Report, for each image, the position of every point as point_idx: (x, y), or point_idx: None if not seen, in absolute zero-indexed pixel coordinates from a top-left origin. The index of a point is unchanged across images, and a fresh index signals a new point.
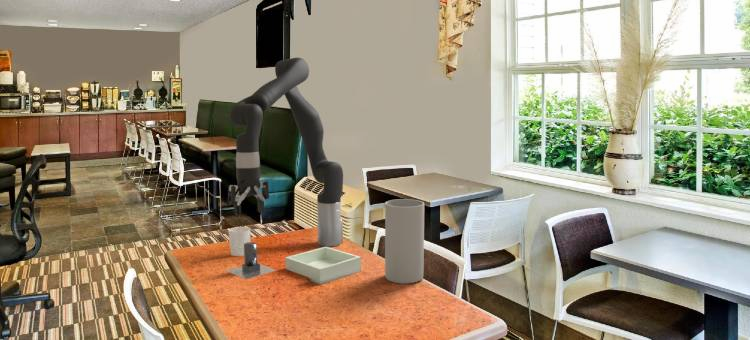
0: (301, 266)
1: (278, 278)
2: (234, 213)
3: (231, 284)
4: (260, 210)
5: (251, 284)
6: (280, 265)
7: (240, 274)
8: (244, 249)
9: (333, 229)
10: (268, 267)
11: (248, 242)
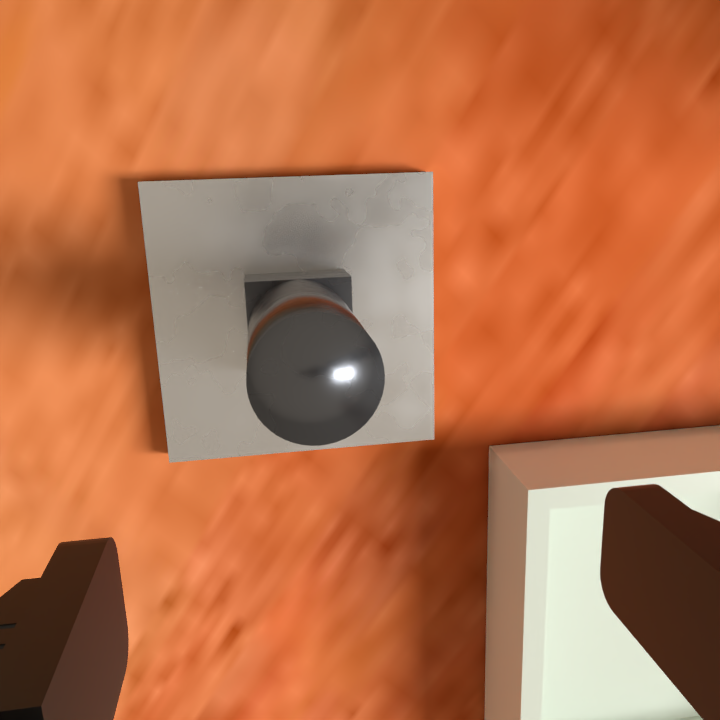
0: (513, 645)
1: (377, 523)
2: (1, 601)
3: (70, 427)
4: (621, 587)
5: (181, 511)
6: (549, 304)
7: (188, 347)
8: (247, 358)
9: None
10: (430, 346)
11: (330, 318)
